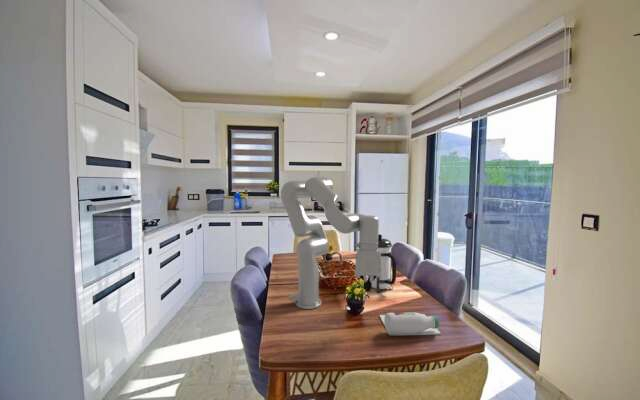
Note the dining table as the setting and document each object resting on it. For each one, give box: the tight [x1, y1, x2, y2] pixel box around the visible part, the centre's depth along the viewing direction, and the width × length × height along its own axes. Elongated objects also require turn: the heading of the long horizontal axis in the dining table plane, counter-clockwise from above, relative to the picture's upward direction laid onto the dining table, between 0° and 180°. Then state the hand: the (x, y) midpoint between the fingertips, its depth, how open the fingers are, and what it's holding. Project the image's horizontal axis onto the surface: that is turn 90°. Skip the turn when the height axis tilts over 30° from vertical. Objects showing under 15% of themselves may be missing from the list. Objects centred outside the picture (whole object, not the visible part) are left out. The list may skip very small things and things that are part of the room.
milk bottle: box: [384, 311, 440, 336], centre depth 113 cm, size 8×8×20 cm
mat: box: [379, 313, 442, 337], centre depth 120 cm, size 20×16×1 cm
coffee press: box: [367, 233, 397, 294], centre depth 159 cm, size 17×16×30 cm
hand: (367, 290), depth 119 cm, fingers closed
